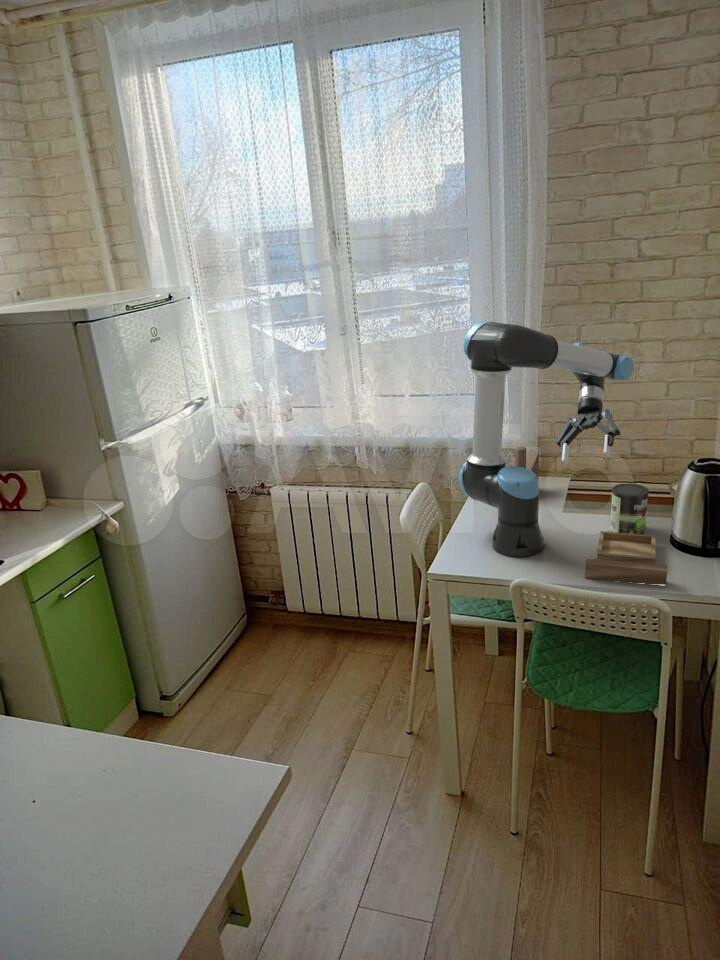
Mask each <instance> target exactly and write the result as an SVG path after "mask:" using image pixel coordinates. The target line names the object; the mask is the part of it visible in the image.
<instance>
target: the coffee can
mask: <svg viewBox="0 0 720 960" xmlns="http://www.w3.org/2000/svg"><path fill="white" fill-rule="evenodd" d="M611 492H612V493H611V505H610V506H611V507H610V508H611V509H610V524H609V525H610V527H609V532H617V533H629V534H641V535H646V529H647V527H646V526H647V517H648V515H647V514H648V513H647V512H648V503H649V501H648V500H649V493H650V490H649V488H647V486H644V485H640V484H636V483H619V484H616V485H613V486H612V487H611Z"/></svg>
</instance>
